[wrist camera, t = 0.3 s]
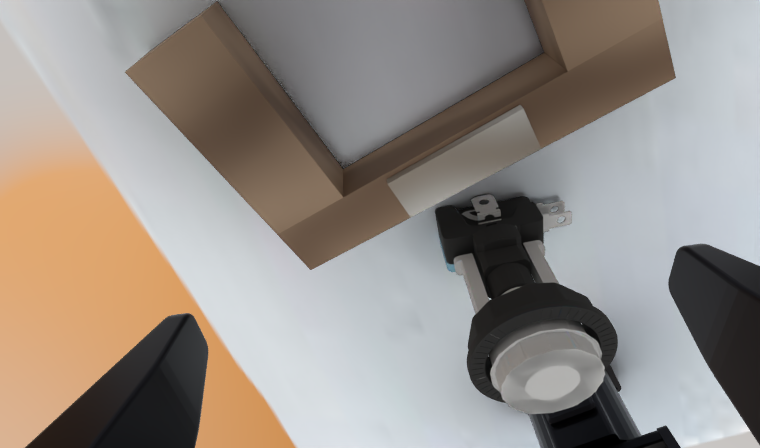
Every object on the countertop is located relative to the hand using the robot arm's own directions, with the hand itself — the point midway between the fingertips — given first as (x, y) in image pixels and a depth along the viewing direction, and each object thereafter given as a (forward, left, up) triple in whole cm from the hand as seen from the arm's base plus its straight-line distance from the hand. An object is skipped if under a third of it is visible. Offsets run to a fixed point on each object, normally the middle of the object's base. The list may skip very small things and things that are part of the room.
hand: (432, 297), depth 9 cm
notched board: (0, -1, -13) cm, 13 cm away
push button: (-9, -1, -14) cm, 17 cm away
